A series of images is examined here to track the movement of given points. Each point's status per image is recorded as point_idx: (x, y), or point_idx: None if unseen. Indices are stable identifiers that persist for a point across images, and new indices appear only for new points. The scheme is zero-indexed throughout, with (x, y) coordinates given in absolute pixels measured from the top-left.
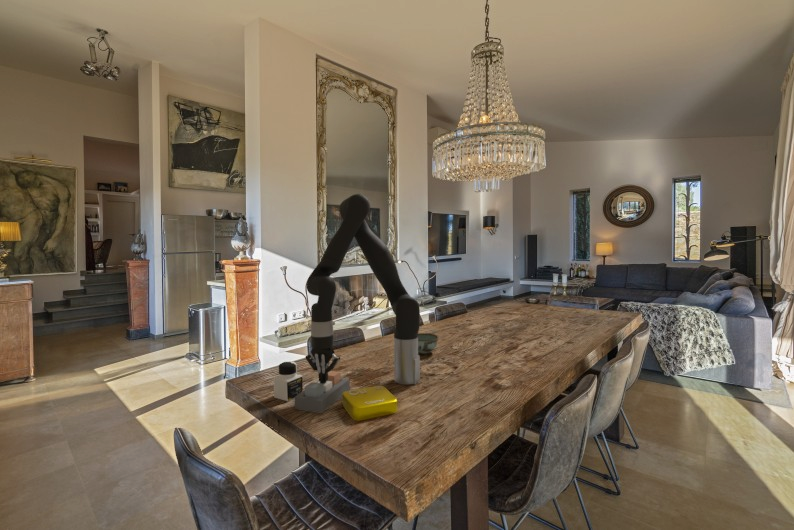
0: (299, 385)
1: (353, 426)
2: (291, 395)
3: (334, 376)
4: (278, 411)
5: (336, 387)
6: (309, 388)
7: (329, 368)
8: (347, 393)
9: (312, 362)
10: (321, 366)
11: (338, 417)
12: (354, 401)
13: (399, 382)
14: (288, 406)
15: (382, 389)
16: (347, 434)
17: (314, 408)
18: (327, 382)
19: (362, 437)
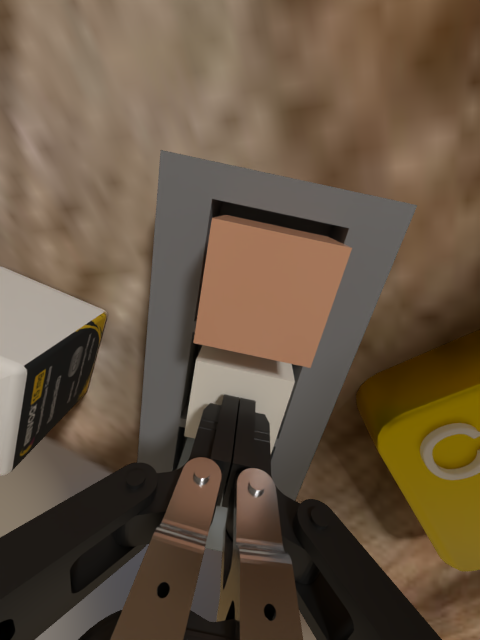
0: (65, 362)
1: (419, 544)
2: (78, 390)
3: (310, 363)
4: (105, 464)
5: (327, 384)
6: None
7: (316, 601)
8: (412, 455)
9: (57, 615)
10: (185, 518)
11: (355, 498)
12: (455, 529)
13: None
14: (117, 428)
15: None
16: (401, 575)
17: None
18: (262, 400)
19: (449, 587)
